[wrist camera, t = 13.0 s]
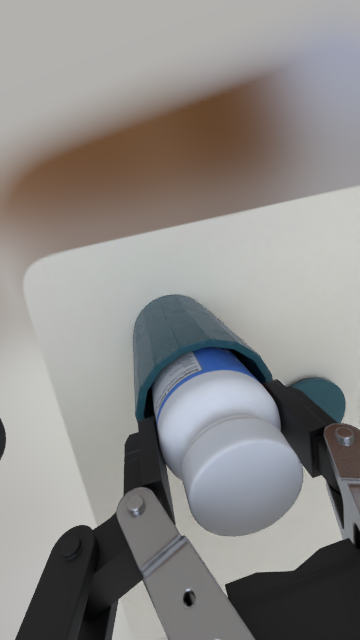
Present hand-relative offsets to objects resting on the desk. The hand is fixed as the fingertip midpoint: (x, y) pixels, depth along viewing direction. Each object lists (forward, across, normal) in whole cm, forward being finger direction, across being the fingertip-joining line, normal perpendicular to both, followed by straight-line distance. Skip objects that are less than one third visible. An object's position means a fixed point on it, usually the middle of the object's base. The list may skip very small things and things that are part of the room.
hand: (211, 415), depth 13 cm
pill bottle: (+6, 0, 0) cm, 6 cm away
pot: (+12, 0, 0) cm, 12 cm away
